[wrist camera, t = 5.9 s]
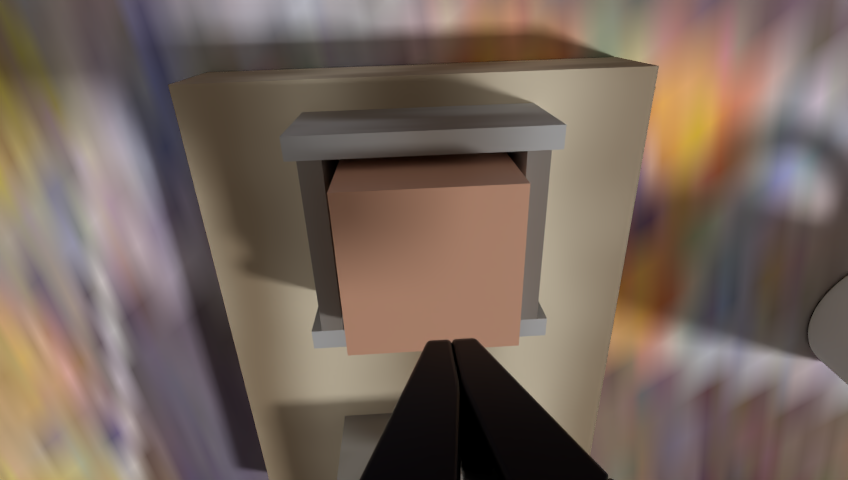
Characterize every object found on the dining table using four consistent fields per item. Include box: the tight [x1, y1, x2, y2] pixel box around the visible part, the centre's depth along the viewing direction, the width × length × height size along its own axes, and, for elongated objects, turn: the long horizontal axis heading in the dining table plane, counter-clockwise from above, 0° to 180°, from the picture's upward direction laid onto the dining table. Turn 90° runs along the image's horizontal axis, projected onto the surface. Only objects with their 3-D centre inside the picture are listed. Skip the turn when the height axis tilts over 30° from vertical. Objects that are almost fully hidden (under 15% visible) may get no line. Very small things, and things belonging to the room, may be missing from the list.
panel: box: [168, 57, 659, 480], centre depth 18 cm, size 14×20×6 cm
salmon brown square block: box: [327, 152, 530, 355], centre depth 13 cm, size 4×4×3 cm
